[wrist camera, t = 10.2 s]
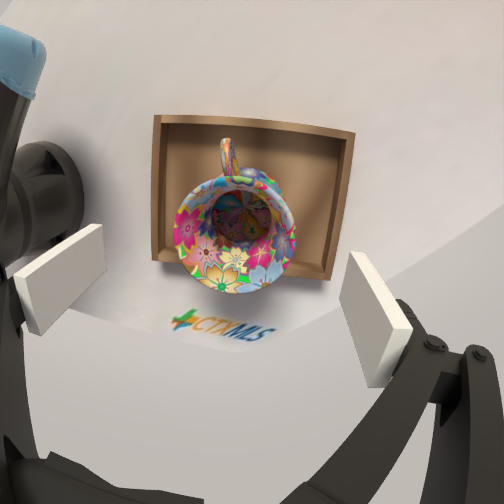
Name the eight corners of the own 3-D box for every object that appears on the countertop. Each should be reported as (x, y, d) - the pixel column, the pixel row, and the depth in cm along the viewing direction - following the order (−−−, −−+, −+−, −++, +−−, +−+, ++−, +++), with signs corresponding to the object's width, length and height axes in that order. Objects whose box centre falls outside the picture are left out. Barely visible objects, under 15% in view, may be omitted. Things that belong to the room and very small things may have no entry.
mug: (292, 243, 34) (299, 290, 24) (209, 250, 35) (185, 297, 25) (282, 132, 29) (287, 131, 20) (193, 143, 30) (157, 149, 21)
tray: (160, 249, 36) (151, 260, 33) (164, 116, 30) (154, 115, 27) (325, 268, 35) (330, 280, 32) (348, 132, 29) (355, 132, 27)
